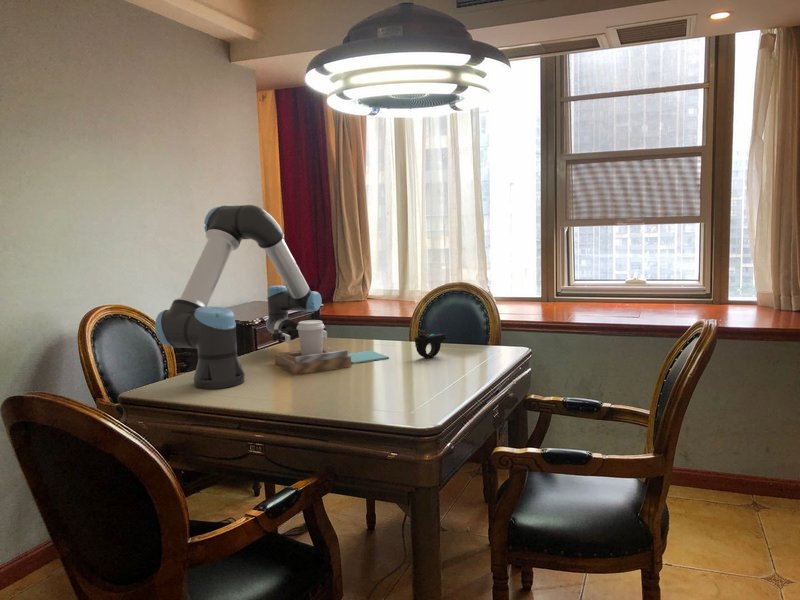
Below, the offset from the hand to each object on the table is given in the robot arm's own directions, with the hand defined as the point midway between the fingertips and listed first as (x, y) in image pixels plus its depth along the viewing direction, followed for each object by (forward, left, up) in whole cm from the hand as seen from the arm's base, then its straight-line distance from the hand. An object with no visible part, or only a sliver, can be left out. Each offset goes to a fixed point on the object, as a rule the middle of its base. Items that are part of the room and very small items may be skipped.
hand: (308, 337), depth 222 cm
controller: (+38, -19, -9) cm, 44 cm away
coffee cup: (-1, -5, -9) cm, 10 cm away
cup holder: (-1, -5, -9) cm, 10 cm away
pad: (+18, -5, -9) cm, 21 cm away
